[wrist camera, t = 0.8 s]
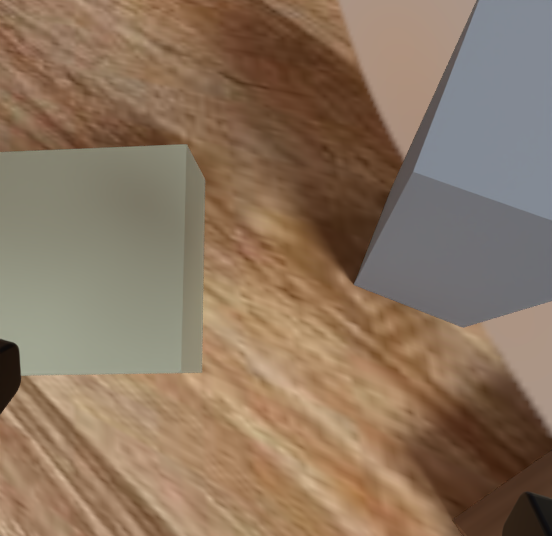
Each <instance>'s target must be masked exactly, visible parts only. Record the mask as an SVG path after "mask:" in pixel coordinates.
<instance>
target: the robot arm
mask: <svg viewBox="0 0 552 536" xmlns="http://www.w3.org/2000/svg"><path fill="white" fill-rule="evenodd" d="M20 383H21V367H20V351H19V347H18V345H17V344H15V343H14V342H10V341H7V340H3V339H0V414H1V413H2V411H3V410H4V409H5V407H6V406H7V405H8V403H9V402H10V401H11V399H12V398H13V396H14V395H15V394H16V392H17V390H18V388H19V386H20ZM502 536H552V499H551V498H549V497H547V496H543V495H540V494H536V493H533V492H529V491H526V492H523V493H522V494H521V495H520V496H519V498H518V500H517V501H516V503H515V505H514V507H513V509H512V510H511V512H510V514H509V516H508V517H507V519H506V521H505V523H504V526H503V530H502Z"/></svg>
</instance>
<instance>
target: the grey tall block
mask: <svg viewBox="0 0 552 536" xmlns="http://www.w3.org/2000/svg"><path fill="white" fill-rule="evenodd" d="M354 285H356V286H358V287H361V288H363V289H366V290H368V291H371V292H373V293H376V294H379V295H381V296H384V297H386V298H389V299H391V300H394V301H396V302H399V303H402V304H404V305H407V306H409V307H412V308H414V309H417V310H419V311H422V312H425V313H427V314H430V315H432V316H435V317H437V318H440V319H443V320H445V321H448V322H450V323H453V324H455V325H458V326H460V327H467V326H470V325H473V324H477V323H480V322H483V321H487V320H490V319H493V318H497V317H500V316H503V315H507V314H510V313H513V312H517V311H520V310H523V309H527V308H530V307H533V306H537V305H540V304H543V303H547V302H550V301H552V0H477V1H476V3H475V5H474V7H473V10H472V12H471V14H470V16H469V18H468V21H467V23H466V25H465V28H464V30H463V32H462V34H461V36H460V38H459V41H458V43H457V45H456V47H455V49H454V51H453V54H452V56H451V58H450V60H449V62H448V65H447V67H446V69H445V72H444V73H443V76H442V78H441V80H440V82H439V84H438V87H437V89H436V91H435V94H434V96H433V98H432V100H431V102H430V104H429V107H428V109H427V111H426V113H425V115H424V118H423V120H422V122H421V124H420V127H419V129H418V131H417V133H416V135H415V137H414V139H413V142H412V144H411V146H410V148H409V150H408V153H407V155H406V157H405V159H404V161H403V164H402V166H401V168H400V170H399V172H398V175H397V177H396V179H395V181H394V183H393V186H392V188H391V191H390V193H389V196H388V198H387V201H386V203H385V206H384V209H383V211H382V214H381V216H380V219H379V221H378V224H377V227H376V229H375V232H374V234H373V237H372V239H371V242H370V244H369V247H368V250H367V252H366V255H365V257H364V260H363V262H362V265H361V267H360V270H359V273H358V275H357V278H356V280H355V283H354Z"/></svg>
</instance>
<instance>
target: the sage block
mask: <svg viewBox="0 0 552 536" xmlns="http://www.w3.org/2000/svg"><path fill="white" fill-rule="evenodd" d="M204 220H205V178H204V176H203V174H202V172H201V171H200V169H199V167H198V165H197V163H196V161H195V159H194V157H193V155H192V153H191V151H190V150H189V148H188V146H187V144H181V145H157V146H133V147H109V148H86V149H62V150H38V151H14V152H0V339H3V340H7V341H10V342H14V343H15V344H17V345H18V347H19V351H20V367H21V376H26V375H90V374H154V373H202V338H203V279H204Z"/></svg>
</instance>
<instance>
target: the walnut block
mask: <svg viewBox="0 0 552 536" xmlns="http://www.w3.org/2000/svg"><path fill="white" fill-rule="evenodd" d="M526 491H529V492H533V493H536V494H540V495H543V496H547V497H549V498H551V499H552V450H551V451H550V452H548V453H547V454H546V455H544V456H543V457H541V458H540V459H538V460H537V461H536V462H534V463H533V464H531V465H530V466H528V467H527V468H526V469H524V470H523V471H521V472H520V473H518V474H517V475H516V476H514V477H513V478H511V479H510V480H508V481H507V482H506V483H504V484H503V485H501V486H500V487H498V488H497V489H496V490H494V491H493V492H491V493H490V494H489V495H487V496H486V497H484V498H483V499H481V500H480V501H479V502H477V503H476V504H474V505H473V506H471V507H470V508H469V509H467V510H466V511H464V512H463V513H461V514H460V515H459V516H457V517H456V518H454V519H453V520H452V521H453V522H454V524H455V525H456V527H457V528H458V530H459V531H460V533H461V534H462V536H502V530H503V526H504V523H505V521H506V519H507V517H508V516H509V514H510V512H511V510H512V509H513V507H514V505H515V503H516V501H517V500H518V498H519V496H520V495H521V494H522V493H523V492H526Z"/></svg>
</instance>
